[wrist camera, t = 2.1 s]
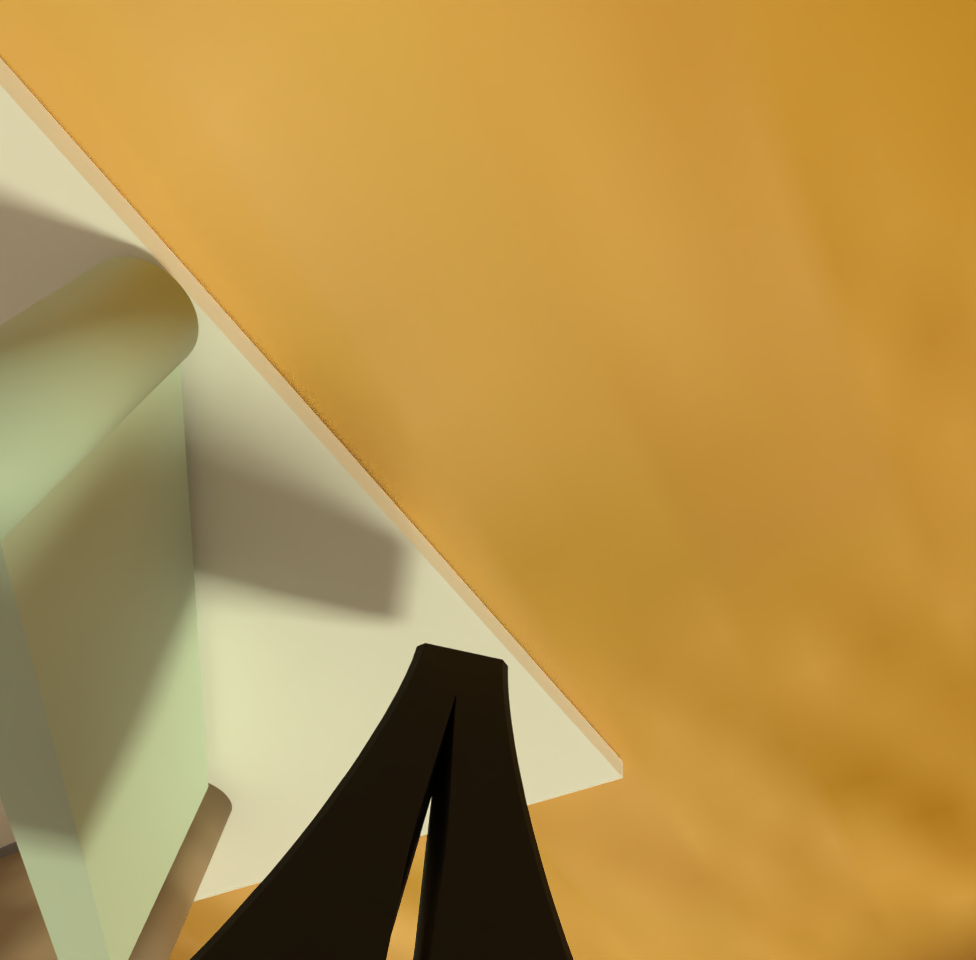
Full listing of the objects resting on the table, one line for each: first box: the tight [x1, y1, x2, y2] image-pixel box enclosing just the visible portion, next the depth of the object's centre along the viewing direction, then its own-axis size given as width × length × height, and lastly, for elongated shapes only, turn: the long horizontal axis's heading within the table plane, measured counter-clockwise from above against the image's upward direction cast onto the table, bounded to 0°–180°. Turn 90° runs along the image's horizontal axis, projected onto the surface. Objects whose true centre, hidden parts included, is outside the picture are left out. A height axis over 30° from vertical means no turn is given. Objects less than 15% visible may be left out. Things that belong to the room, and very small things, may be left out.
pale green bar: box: [0, 257, 208, 960], centre depth 12 cm, size 12×2×5 cm, turn 170°
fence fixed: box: [0, 783, 232, 960], centre depth 18 cm, size 12×2×5 cm, turn 125°
